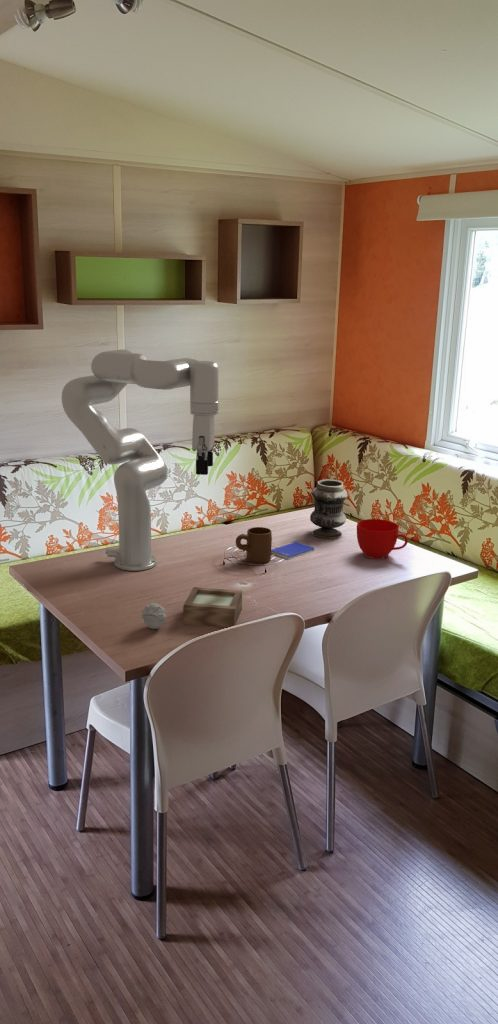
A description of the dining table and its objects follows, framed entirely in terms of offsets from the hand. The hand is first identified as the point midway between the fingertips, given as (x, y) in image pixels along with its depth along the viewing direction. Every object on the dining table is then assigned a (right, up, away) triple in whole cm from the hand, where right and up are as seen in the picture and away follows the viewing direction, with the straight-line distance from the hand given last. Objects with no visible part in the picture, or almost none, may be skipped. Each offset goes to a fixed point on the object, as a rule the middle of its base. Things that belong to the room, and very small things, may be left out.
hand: (204, 470), depth 231 cm
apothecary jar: (+39, -19, +53) cm, 68 cm away
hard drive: (+26, -25, +36) cm, 50 cm away
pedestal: (+3, -38, -13) cm, 41 cm away
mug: (+13, -27, +27) cm, 40 cm away
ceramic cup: (+54, -26, +33) cm, 68 cm away
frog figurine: (-11, -41, -21) cm, 47 cm away
